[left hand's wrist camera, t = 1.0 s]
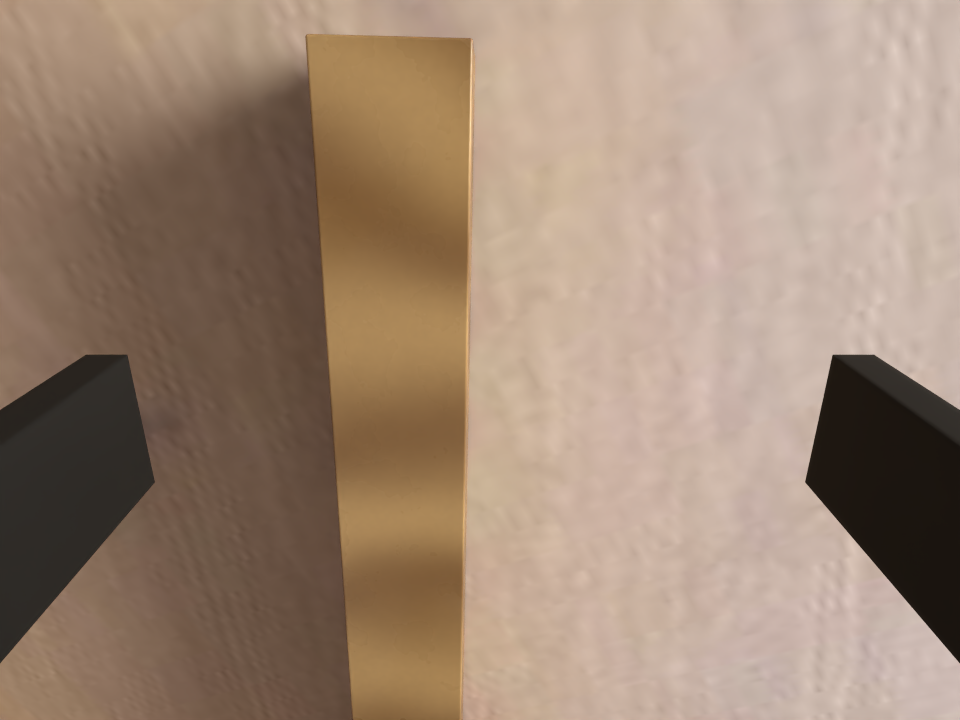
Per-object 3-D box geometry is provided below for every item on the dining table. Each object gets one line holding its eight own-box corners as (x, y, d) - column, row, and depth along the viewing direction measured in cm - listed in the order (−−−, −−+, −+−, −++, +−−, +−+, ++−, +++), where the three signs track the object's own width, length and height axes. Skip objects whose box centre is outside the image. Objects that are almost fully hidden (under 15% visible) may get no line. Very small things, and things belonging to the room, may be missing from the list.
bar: (354, 52, 24) (304, 33, 17) (474, 55, 24) (472, 38, 17) (392, 920, 44) (376, 1071, 37) (458, 921, 44) (454, 1072, 37)
